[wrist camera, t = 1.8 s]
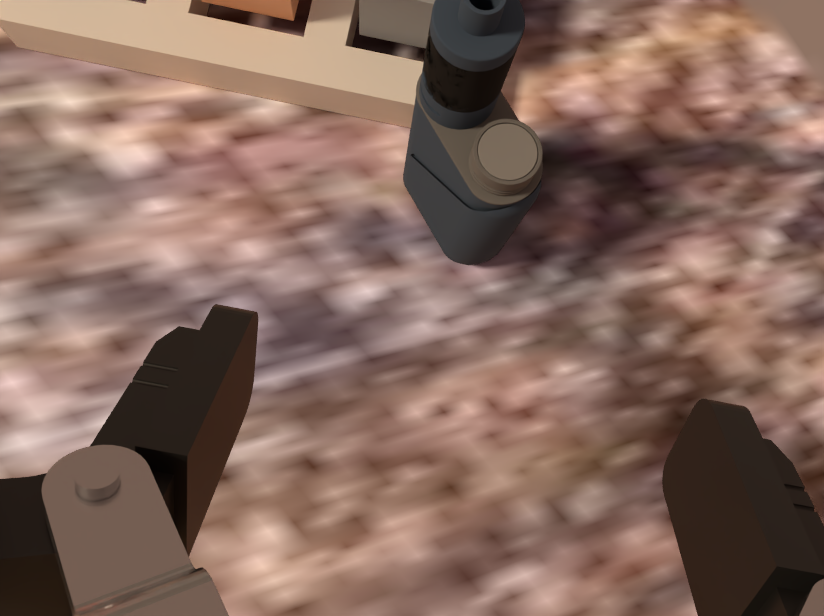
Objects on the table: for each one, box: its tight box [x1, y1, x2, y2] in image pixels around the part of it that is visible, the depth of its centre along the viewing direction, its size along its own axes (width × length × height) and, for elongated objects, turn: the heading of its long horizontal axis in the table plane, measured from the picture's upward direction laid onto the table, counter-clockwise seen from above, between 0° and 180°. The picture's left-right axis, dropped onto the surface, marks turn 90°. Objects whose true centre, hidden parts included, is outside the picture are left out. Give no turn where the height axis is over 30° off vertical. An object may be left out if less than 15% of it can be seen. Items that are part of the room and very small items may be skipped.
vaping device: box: [403, 0, 543, 265], centre depth 23 cm, size 3×5×12 cm, turn 29°
